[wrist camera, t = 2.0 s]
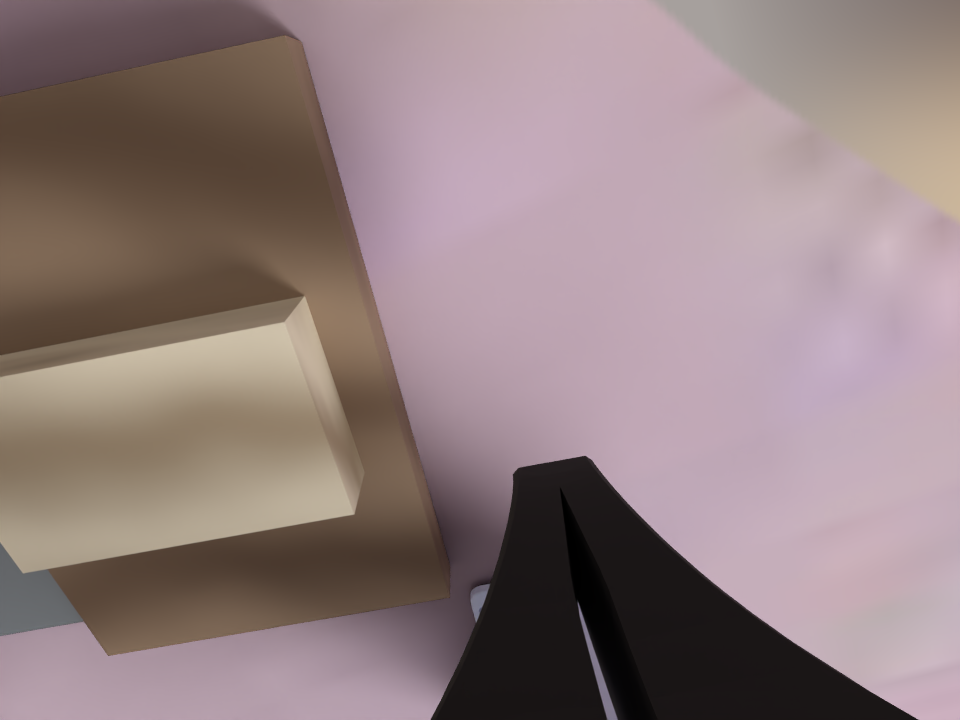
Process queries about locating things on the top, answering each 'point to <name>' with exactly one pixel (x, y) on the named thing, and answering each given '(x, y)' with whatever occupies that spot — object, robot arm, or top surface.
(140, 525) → the birch block
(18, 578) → the charcoal mat
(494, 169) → the top surface
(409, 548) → the walnut board
